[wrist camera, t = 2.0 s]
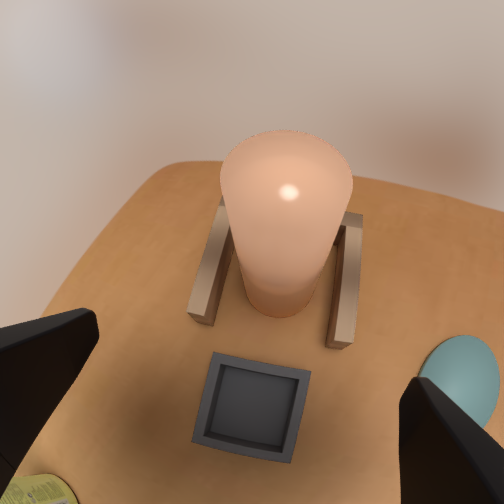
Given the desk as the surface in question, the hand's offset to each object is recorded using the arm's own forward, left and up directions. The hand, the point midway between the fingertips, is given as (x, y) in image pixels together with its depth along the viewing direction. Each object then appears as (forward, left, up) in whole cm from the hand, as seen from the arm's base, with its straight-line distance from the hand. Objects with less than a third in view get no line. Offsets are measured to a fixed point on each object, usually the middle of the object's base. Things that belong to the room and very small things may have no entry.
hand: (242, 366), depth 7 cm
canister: (+2, +7, -13) cm, 15 cm away
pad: (+16, -3, -13) cm, 20 cm away
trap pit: (0, -2, -13) cm, 13 cm away
